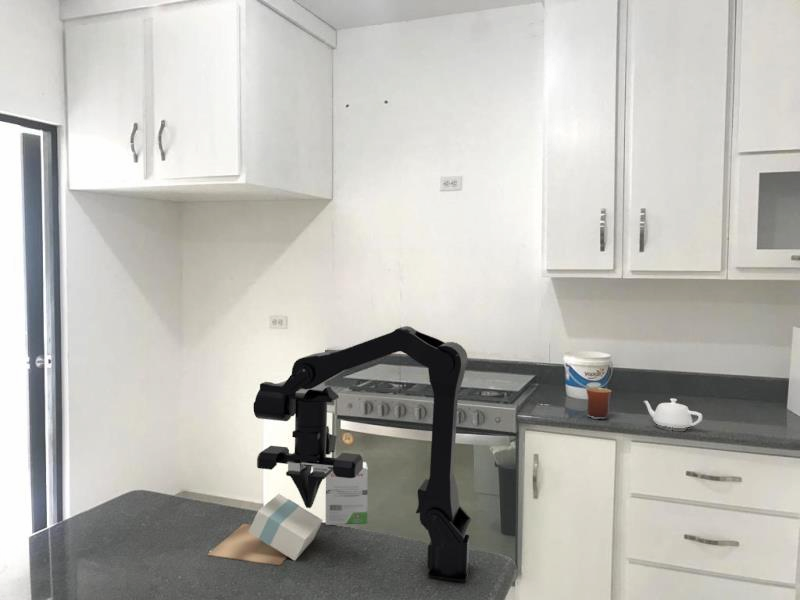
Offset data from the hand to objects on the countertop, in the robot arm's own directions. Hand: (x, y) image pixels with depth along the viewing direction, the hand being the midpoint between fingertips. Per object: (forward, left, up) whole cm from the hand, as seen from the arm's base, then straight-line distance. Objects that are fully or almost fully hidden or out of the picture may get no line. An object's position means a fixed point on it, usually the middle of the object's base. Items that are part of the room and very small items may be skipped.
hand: (309, 507), depth 116 cm
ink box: (-2, -15, -8) cm, 17 cm away
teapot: (-84, -121, -8) cm, 148 cm away
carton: (0, 0, -6) cm, 6 cm away
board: (+10, 0, -8) cm, 13 cm away
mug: (-60, -129, -8) cm, 143 cm away
